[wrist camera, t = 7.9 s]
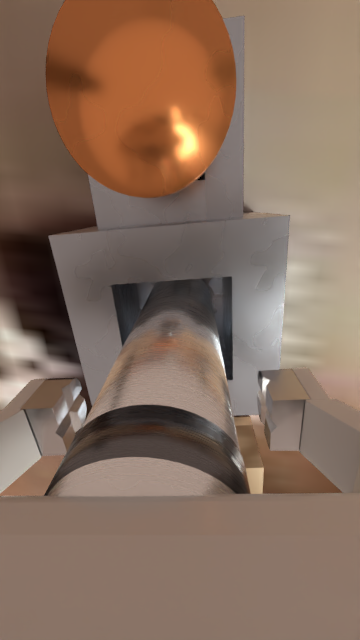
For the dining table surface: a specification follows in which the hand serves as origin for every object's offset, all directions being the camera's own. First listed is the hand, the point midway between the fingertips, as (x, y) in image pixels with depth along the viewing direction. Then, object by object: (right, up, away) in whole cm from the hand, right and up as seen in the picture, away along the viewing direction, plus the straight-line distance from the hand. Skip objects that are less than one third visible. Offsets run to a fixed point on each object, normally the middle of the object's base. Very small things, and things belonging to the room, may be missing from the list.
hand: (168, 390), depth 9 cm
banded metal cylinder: (0, +4, +8) cm, 9 cm away
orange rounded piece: (0, +12, +6) cm, 13 cm away
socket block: (+1, +4, +10) cm, 11 cm away
